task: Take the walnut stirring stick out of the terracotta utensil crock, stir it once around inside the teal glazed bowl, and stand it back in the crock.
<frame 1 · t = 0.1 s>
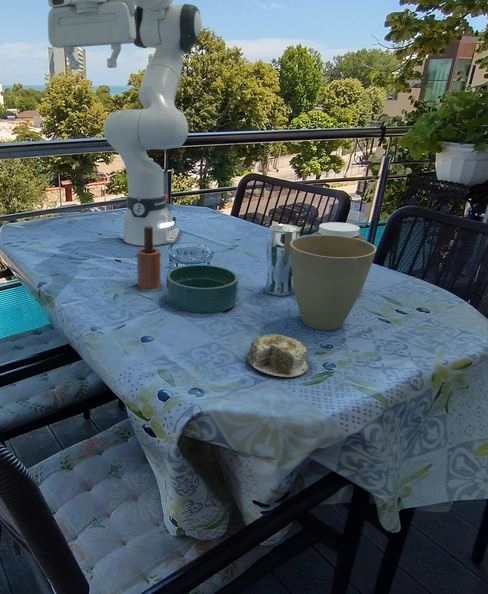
hand: (93, 68, 104), 48 cm above the table, tool pointing down, fingers open, 8 cm apart
stirring stick: (148, 284, 111), point 1 cm above the table, touching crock
cake: (276, 364, 78), on the table
shiny metal cylinder: (278, 292, 107), on the table
jar: (329, 290, 108), on the table
bowl: (201, 301, 102), on the table
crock: (148, 287, 111), on the table
plant pot: (320, 323, 92), on the table
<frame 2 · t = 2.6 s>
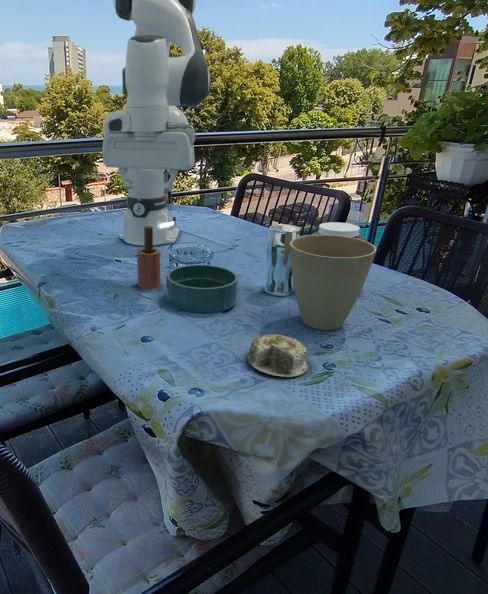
hand: (147, 189, 102), 23 cm above the table, tool pointing down, fingers open, 8 cm apart
nothing on the table moved.
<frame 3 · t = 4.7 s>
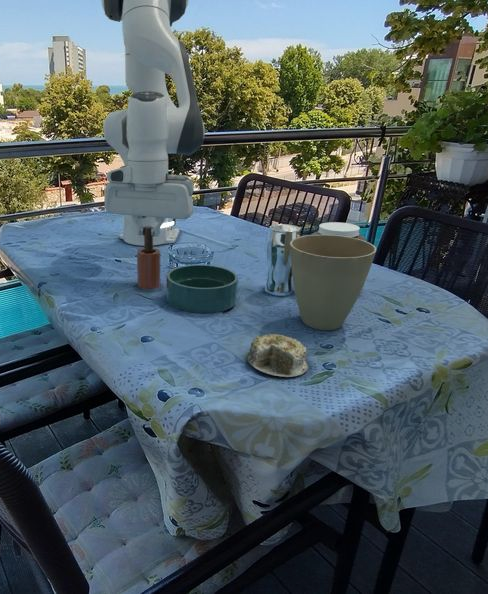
hand: (148, 235, 106), 13 cm above the table, tool pointing down, fingers closed on stirring stick, 2 cm apart
stirring stick: (148, 284, 111), point 1 cm above the table, touching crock, gripper
everything else where it was.
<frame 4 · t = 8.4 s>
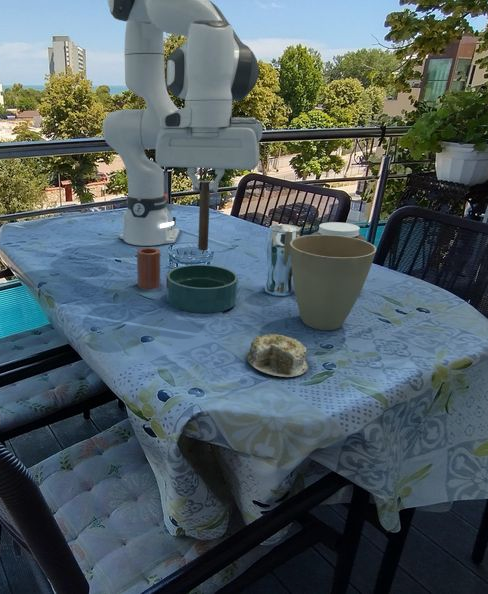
hand: (205, 191, 93), 24 cm above the table, tool pointing down, fingers closed on stirring stick
stirring stick: (202, 249, 98), point 12 cm above the table, touching gripper
everything else where it was.
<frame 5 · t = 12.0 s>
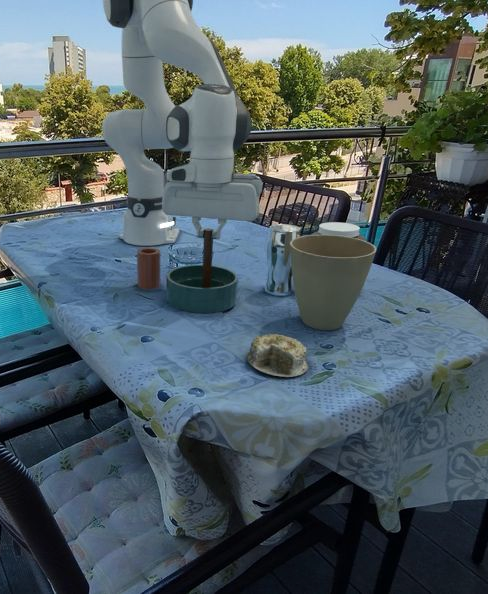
hand: (208, 238, 100), 14 cm above the table, tool pointing down, fingers closed on stirring stick, 2 cm apart
stirring stick: (206, 290, 104), point 2 cm above the table, touching gripper
everything else where it was.
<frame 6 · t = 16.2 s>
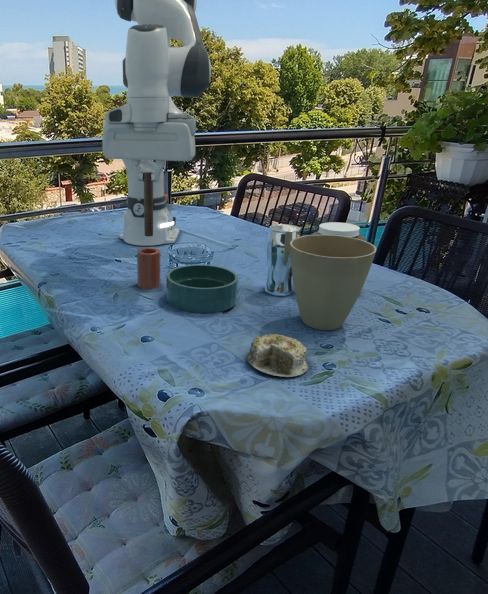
hand: (148, 181, 101), 25 cm above the table, tool pointing down, fingers closed on stirring stick
stirring stick: (148, 235, 106), point 13 cm above the table, touching gripper
everything else where it was.
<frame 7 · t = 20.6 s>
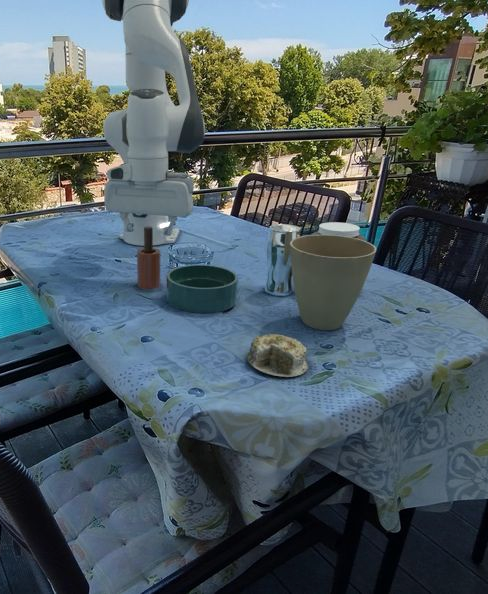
hand: (148, 233, 106), 13 cm above the table, tool pointing down, fingers open, 8 cm apart
stirring stick: (148, 285, 110), point 1 cm above the table, touching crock
everything else where it was.
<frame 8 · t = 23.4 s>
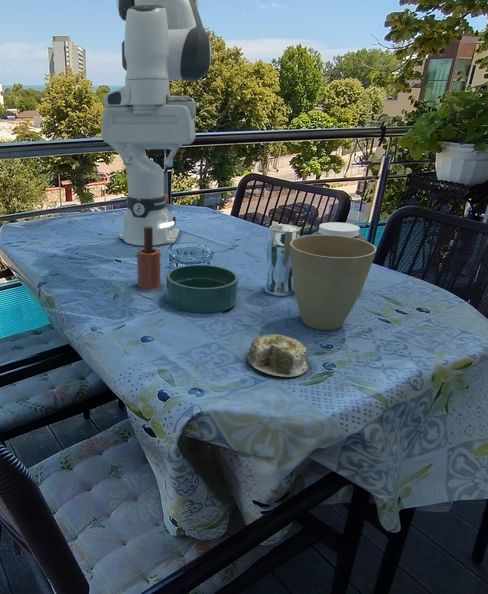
hand: (147, 165, 100), 28 cm above the table, tool pointing down, fingers open, 8 cm apart
nothing on the table moved.
at the end: stirring stick 0.2 cm off-centre in the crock, point 0.6 cm above the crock's base; stirring stick tilted 0°; the gripper is holding nothing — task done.
